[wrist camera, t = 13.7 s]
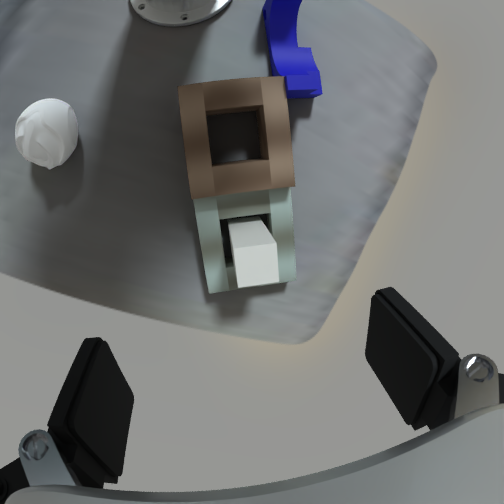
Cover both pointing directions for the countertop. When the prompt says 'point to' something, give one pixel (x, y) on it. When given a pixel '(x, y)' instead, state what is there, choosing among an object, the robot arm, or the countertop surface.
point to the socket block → (240, 171)
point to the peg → (253, 252)
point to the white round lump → (47, 132)
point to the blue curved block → (290, 50)
